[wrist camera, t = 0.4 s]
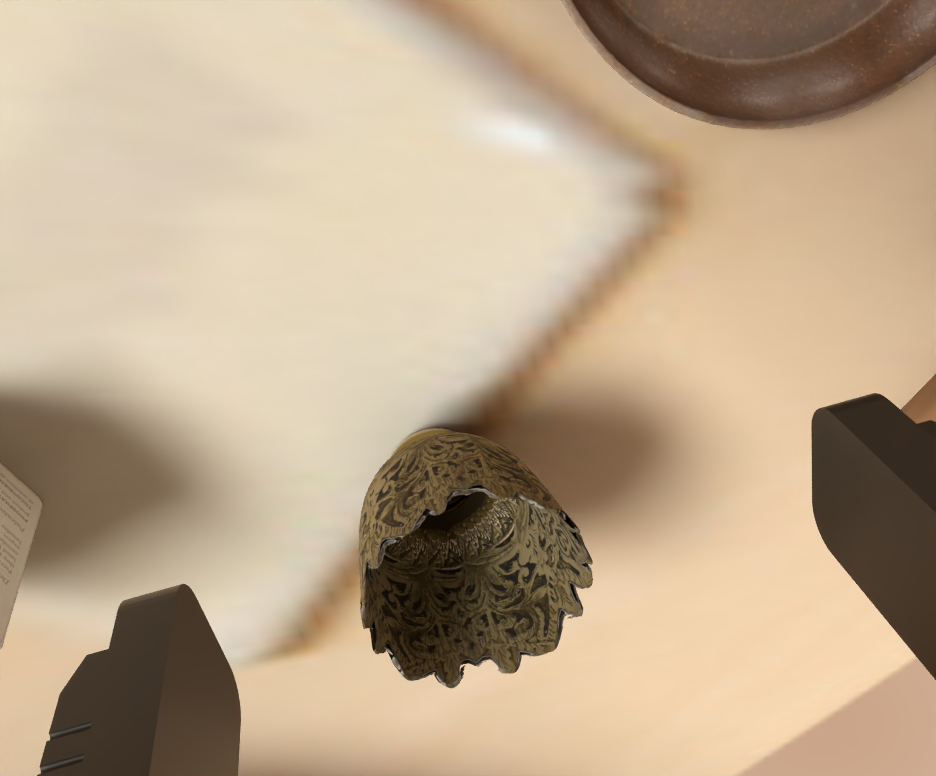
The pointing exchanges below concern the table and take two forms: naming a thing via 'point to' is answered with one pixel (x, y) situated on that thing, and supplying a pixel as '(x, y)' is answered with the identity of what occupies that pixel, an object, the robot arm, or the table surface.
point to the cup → (465, 558)
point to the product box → (14, 539)
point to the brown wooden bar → (923, 404)
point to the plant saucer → (762, 54)
